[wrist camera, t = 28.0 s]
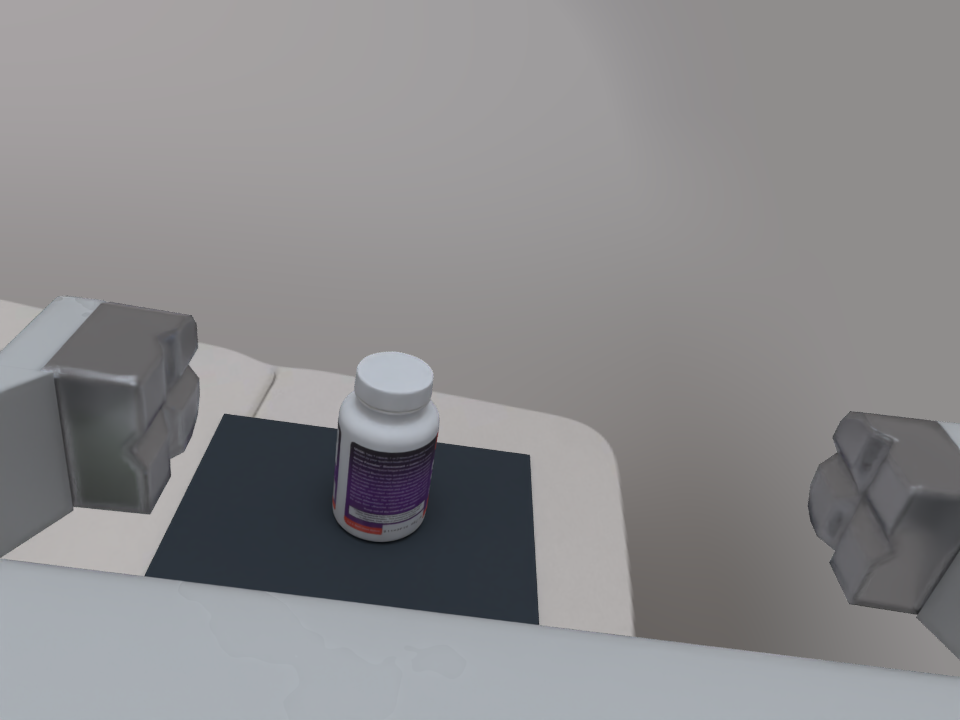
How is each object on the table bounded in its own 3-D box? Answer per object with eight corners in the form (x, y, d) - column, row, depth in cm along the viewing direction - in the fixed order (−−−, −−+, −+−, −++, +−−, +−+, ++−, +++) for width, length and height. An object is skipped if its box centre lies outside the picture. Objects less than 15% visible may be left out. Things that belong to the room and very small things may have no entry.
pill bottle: (444, 522, 47) (468, 383, 42) (366, 559, 43) (382, 413, 38) (390, 469, 50) (406, 334, 45) (313, 500, 46) (322, 358, 41)
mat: (529, 457, 53) (529, 454, 53) (538, 628, 41) (539, 626, 41) (224, 416, 52) (224, 413, 52) (143, 581, 40) (143, 578, 40)
